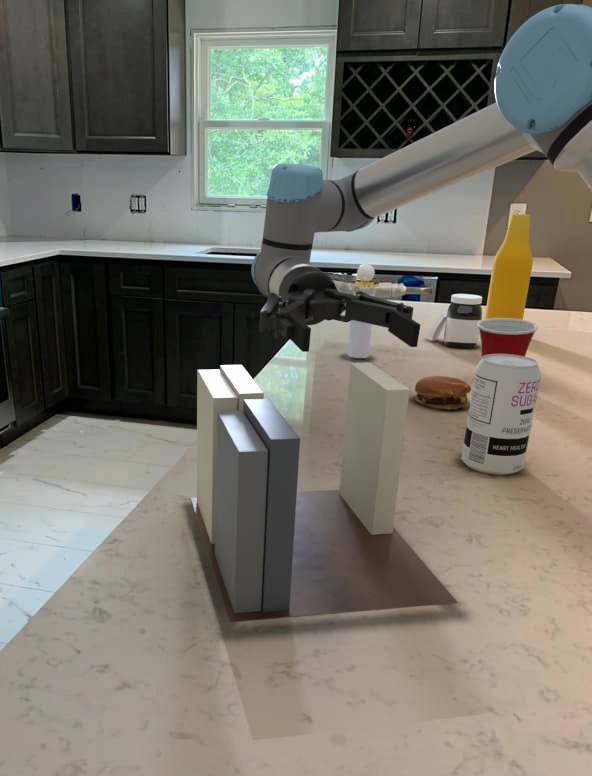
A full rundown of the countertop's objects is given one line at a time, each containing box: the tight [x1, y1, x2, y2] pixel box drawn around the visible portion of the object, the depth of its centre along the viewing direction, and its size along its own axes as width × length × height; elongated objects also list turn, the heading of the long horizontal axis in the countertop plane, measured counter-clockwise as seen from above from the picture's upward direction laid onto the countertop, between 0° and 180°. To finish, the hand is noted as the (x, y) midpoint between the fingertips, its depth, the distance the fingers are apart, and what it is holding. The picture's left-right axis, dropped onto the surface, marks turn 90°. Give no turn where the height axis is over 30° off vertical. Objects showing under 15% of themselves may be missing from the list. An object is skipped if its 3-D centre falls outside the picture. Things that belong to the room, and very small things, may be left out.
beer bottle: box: [483, 213, 534, 320], centre depth 181 cm, size 9×9×29 cm
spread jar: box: [427, 293, 483, 350], centre depth 172 cm, size 12×11×12 cm
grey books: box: [215, 398, 301, 613], centre depth 65 cm, size 5×11×16 cm, turn 10°
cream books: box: [196, 364, 265, 544], centre depth 77 cm, size 5×11×16 cm, turn 10°
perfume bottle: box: [347, 263, 380, 359], centre depth 155 cm, size 6×6×20 cm
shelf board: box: [189, 489, 459, 623], centre depth 76 cm, size 21×26×2 cm
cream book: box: [338, 362, 411, 535], centre depth 80 cm, size 2×11×16 cm, turn 11°
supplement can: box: [461, 354, 542, 476], centre depth 98 cm, size 8×8×15 cm
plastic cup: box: [477, 318, 539, 361], centre depth 139 cm, size 11×11×12 cm
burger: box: [414, 375, 472, 411], centre depth 127 cm, size 10×9×5 cm
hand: (362, 338), depth 85 cm, fingers open, 13 cm apart
